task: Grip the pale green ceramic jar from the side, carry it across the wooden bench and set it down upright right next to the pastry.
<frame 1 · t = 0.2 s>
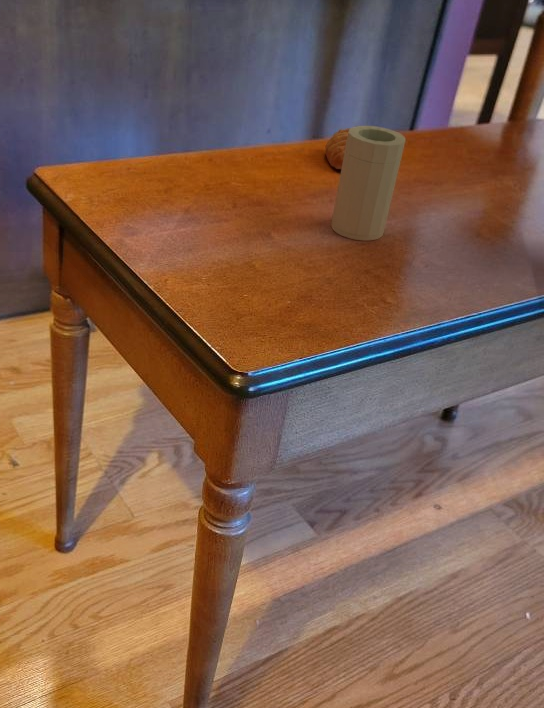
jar: (357, 229, 87), on the table
pastry: (348, 163, 106), on the table
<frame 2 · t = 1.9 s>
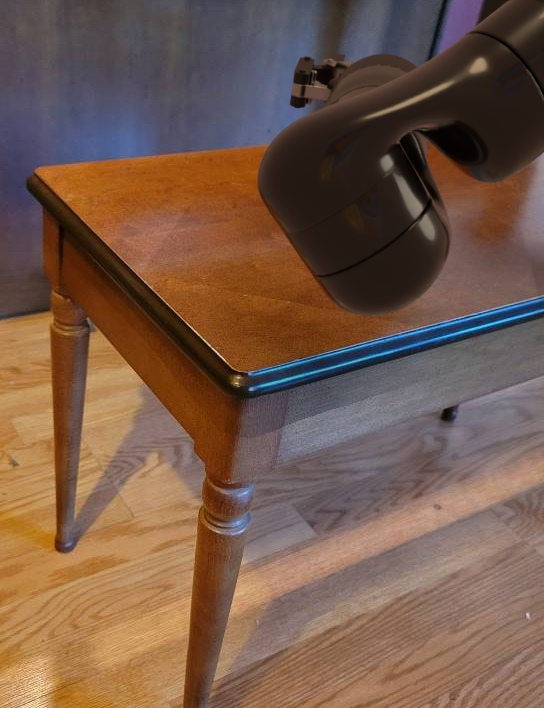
hand: (388, 75, 63), 20 cm above the table, tool horizontal, fingers open, 8 cm apart
nothing on the table moved.
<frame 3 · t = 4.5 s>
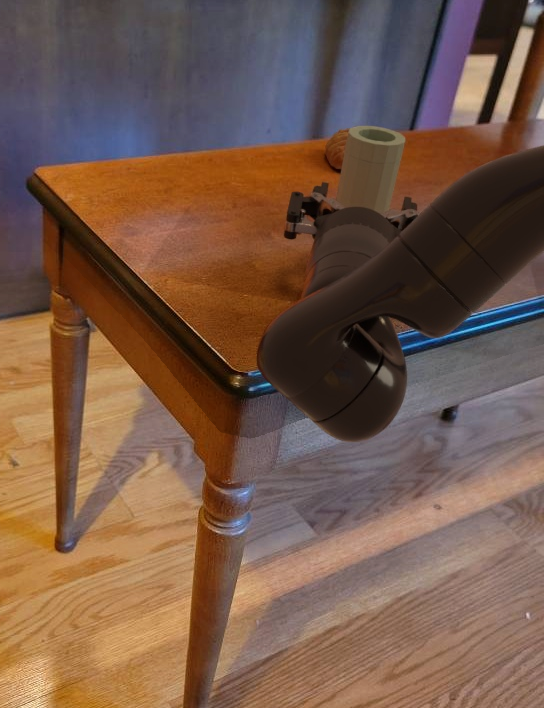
hand: (364, 198, 77), 7 cm above the table, tool horizontal, fingers open, 8 cm apart
nothing on the table moved.
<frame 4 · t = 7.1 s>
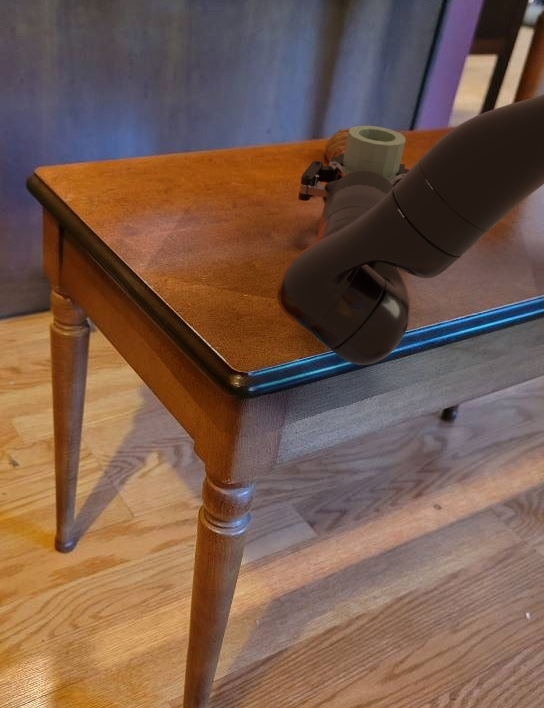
hand: (369, 167, 85), 7 cm above the table, tool horizontal, fingers closed on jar, 6 cm apart
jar: (357, 229, 87), on the table, touching gripper
everything else where it was.
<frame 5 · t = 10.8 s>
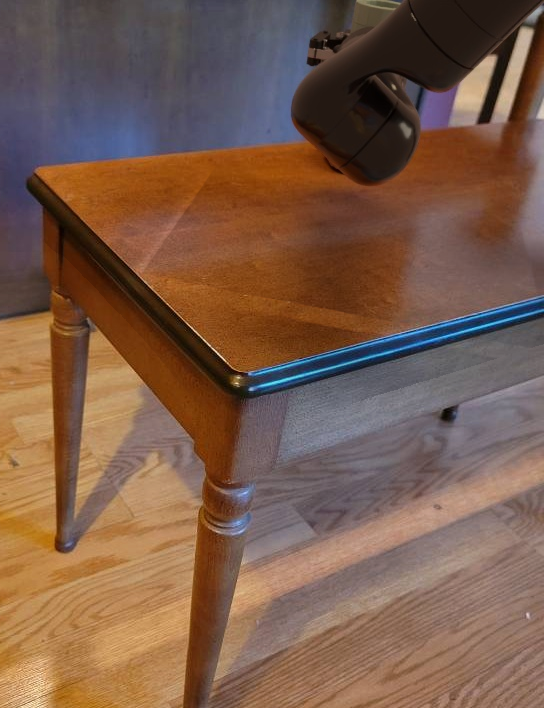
hand: (376, 43, 86), 18 cm above the table, tool horizontal, fingers closed on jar, 6 cm apart
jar: (363, 107, 88), point 11 cm above the table, touching gripper
everything else where it was.
when the fingers open (7 cm above the table, at t = 14.9 s): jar stays where it is, on the table.
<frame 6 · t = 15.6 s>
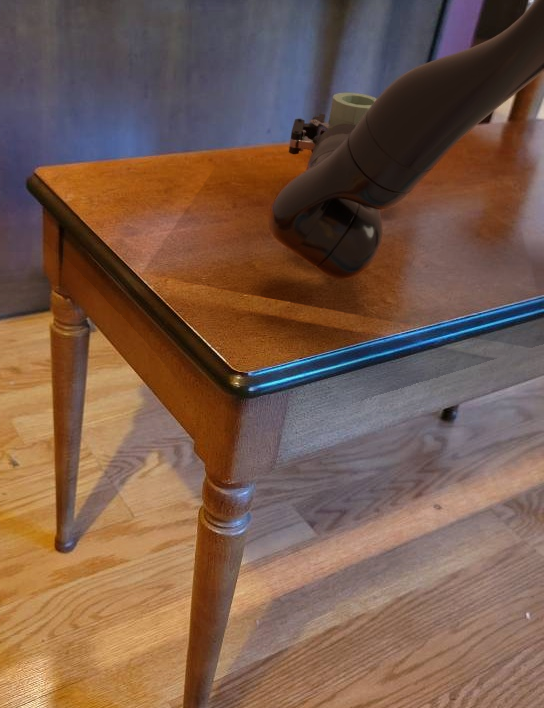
hand: (354, 127, 95), 7 cm above the table, tool horizontal, fingers open, 8 cm apart
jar: (341, 186, 98), on the table
everything else where it was.
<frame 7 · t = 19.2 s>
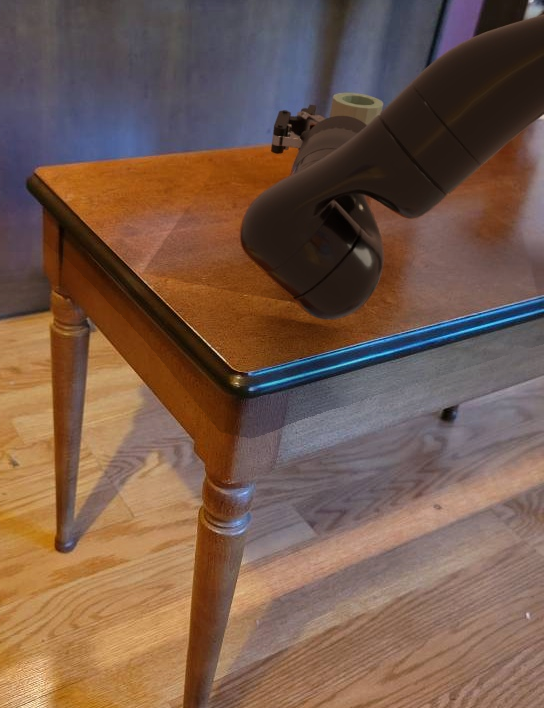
hand: (351, 121, 79), 12 cm above the table, tool horizontal, fingers open, 8 cm apart
nothing on the table moved.
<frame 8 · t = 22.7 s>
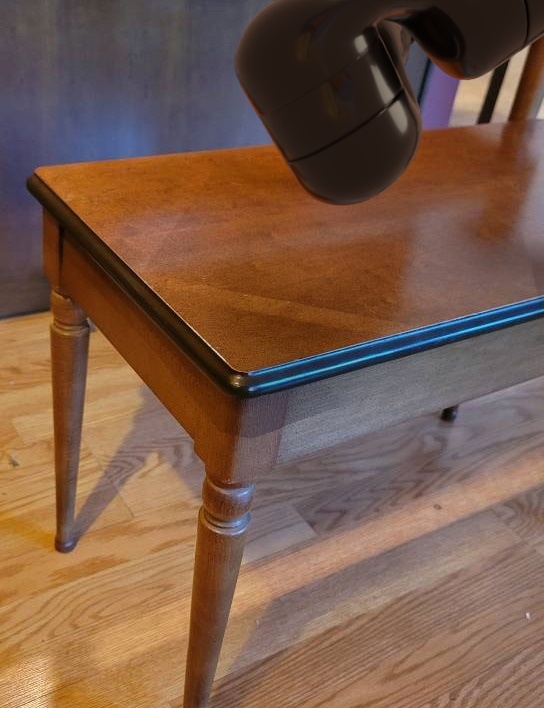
hand: (369, 2, 64), 25 cm above the table, tool horizontal, fingers open, 8 cm apart
nothing on the table moved.
at the end: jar inside the target area on the table beside the pastry (0.6 cm from its centre), on the table; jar tilted 0°; pastry moved 0.2 cm from its start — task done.
